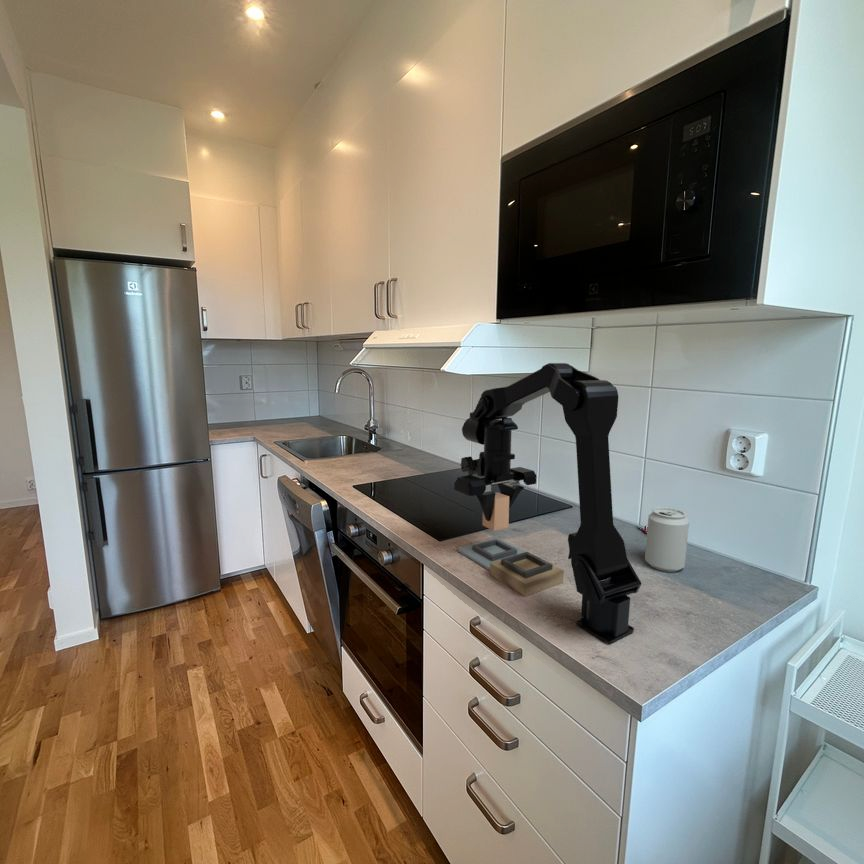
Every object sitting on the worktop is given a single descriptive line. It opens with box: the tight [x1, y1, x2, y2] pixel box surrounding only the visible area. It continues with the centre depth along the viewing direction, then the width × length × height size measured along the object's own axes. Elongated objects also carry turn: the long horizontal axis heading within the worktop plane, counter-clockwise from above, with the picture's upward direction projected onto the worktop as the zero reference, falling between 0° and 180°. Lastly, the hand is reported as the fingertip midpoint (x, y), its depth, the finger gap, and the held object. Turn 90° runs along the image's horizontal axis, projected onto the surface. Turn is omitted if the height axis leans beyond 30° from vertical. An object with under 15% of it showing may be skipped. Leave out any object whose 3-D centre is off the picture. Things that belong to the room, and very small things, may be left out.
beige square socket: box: [489, 551, 565, 597], centre depth 89 cm, size 10×10×4 cm
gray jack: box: [456, 537, 527, 572], centre depth 100 cm, size 12×12×2 cm
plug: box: [481, 491, 510, 532], centre depth 99 cm, size 4×4×7 cm
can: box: [644, 506, 690, 573], centre depth 95 cm, size 8×8×12 cm
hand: (495, 518), depth 99 cm, fingers closed on plug, 4 cm apart
